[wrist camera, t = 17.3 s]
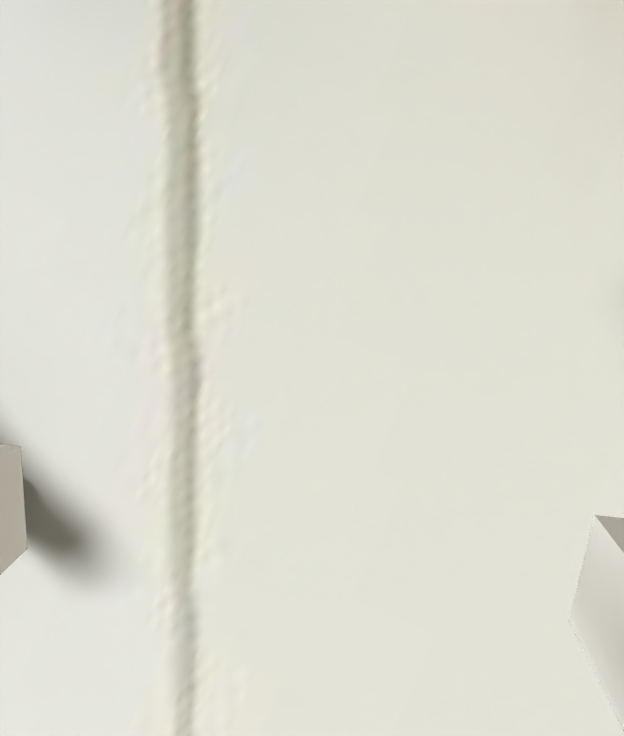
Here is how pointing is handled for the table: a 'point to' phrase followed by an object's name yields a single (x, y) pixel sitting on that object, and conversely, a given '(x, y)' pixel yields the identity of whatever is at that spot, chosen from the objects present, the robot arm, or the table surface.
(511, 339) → the table surface
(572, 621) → the robot arm
